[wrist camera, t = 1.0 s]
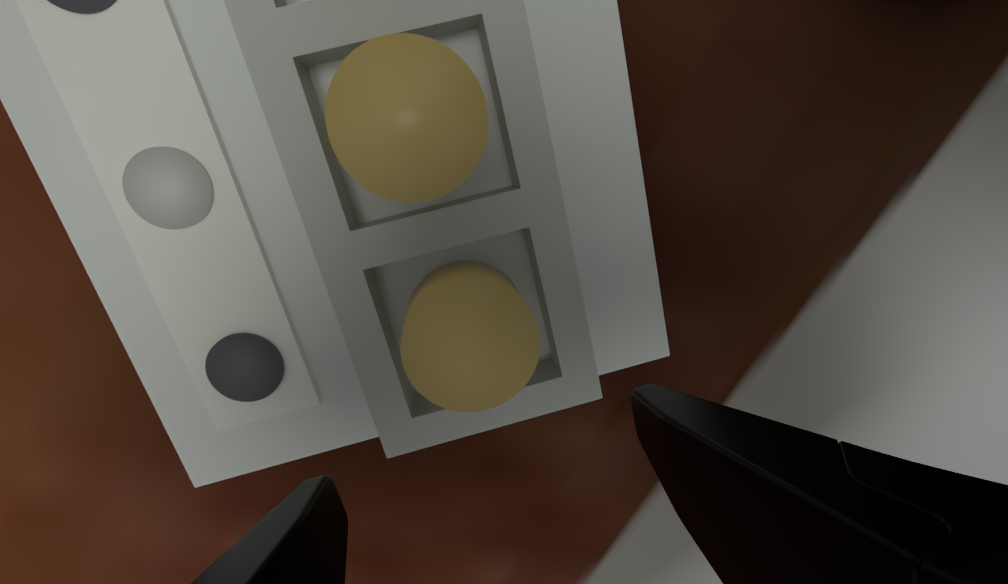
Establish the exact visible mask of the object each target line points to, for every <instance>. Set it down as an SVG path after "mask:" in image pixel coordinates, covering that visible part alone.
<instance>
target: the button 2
mask: <svg viewBox="0 0 1008 584" xmlns="http://www.w3.org/2000/svg"><path fill="white" fill-rule="evenodd" d="M400 353H401V361H402V365H403V368H404V371H405V373H406V376H407V377H408V379H409V381H410V383H411V384H412V385H413V386H414V388H415V389H416V390H417V391H418V392H419V393H420V394H421V395H422V396H423V397H425V398H426V399H427V400H429V401H430V402H432V403H434V404H436V405H438V406H440V407H443V408H445V409H449V410H453V411H459V412H477V411H483V410H488V409H491V408H494V407H497V406H499V405H501V404H503V403H505V402H507V401H508V400H510V399H511V398H513V397H514V396H515V395H516V394H518V393H519V392H520V391H521V390H522V389H523V388H524V387H525V385H526V384H527V383H528V381H529V380H530V378H531V377H532V375H533V373H534V371H535V369H536V366H537V363H538V360H539V355H540V334H539V329H538V326H537V323H536V321H535V318H534V316H533V314H532V313H531V311H530V309H529V307H528V306H527V304H526V302H525V301H524V299H523V297H522V296H521V294H520V292H519V291H518V289H517V287H516V286H515V284H514V283H513V282H512V281H511V279H510V278H509V277H508V276H506V275H505V274H504V273H503V272H501V271H500V270H498V269H497V268H495V267H493V266H491V265H488V264H485V263H482V262H477V261H457V262H452V263H448V264H445V265H443V266H441V267H438V268H436V269H435V270H433V271H432V272H430V273H429V274H428V275H426V276H425V277H424V278H423V279H422V280H421V281H420V282H419V284H418V285H417V286H416V288H415V289H414V291H413V293H412V295H411V297H410V300H409V303H408V307H407V312H406V317H405V322H404V327H403V332H402V337H401V345H400Z"/></svg>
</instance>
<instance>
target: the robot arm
mask: <svg viewBox="0 0 1008 584" xmlns="http://www.w3.org/2000/svg"><path fill="white" fill-rule="evenodd" d="M630 399H631V405H632V410H633V416H634V421H635V427H636V432H637V435H638V438H639V441H640V443H641V445H642V447H643V449H644V451H645V453H646V455H647V457H648V459H649V461H650V463H651V465H652V466H653V468H654V470H655V472H656V474H657V476H658V478H659V480H660V482H661V484H662V486H663V488H664V490H665V492H666V494H667V496H668V497H669V500H670V501H671V503H672V505H673V507H674V509H675V511H676V513H677V514H678V516H679V518H680V519H681V521H682V523H683V524H684V526H685V527H686V529H687V530H688V532H689V533H690V535H691V536H692V538H693V539H694V541H695V542H696V544H697V545H698V547H699V548H700V550H701V551H702V553H703V554H704V556H705V557H706V559H707V560H708V562H709V563H710V565H711V566H712V568H713V569H714V570H715V572H716V574H717V575H718V577H719V578H720V579H721V581H722V583H723V584H1008V485H1005V484H1001V483H996V482H992V481H988V480H984V479H980V478H976V477H971V476H967V475H963V474H959V473H955V472H951V471H947V470H943V469H939V468H935V467H931V466H928V465H923V464H920V463H915V462H911V461H908V460H905V459H901V458H898V457H894V456H891V455H887V454H883V453H880V452H877V451H873V450H870V449H866V448H863V447H860V446H857V445H853V444H850V443H847V442H843V441H841V442H839V444H838V441H837V440H836V439H833V438H829V437H826V436H823V435H820V434H816V433H813V432H810V431H807V430H803V429H800V428H797V427H793V426H790V425H787V424H784V423H780V422H777V421H773V420H770V419H767V418H764V417H760V416H757V415H754V414H750V413H747V412H744V411H741V410H737V409H734V408H731V407H727V406H724V405H721V404H717V403H714V402H711V401H708V400H704V399H701V398H698V397H694V396H691V395H688V394H684V393H681V392H678V391H675V390H671V389H668V388H665V387H661V386H658V385H655V384H649V385H645V386H642V387H638V388H635V389H633V390H632V391H631V393H630ZM347 537H348V519H347V515H346V511H345V509H344V506H343V504H342V501H341V499H340V496H339V494H338V491H337V489H336V486H335V484H334V481H333V480H332V478H331V477H330V476H328V475H322V476H319V477H315V478H311V479H308V480H305V481H304V482H302V483H301V484H300V485H299V486H298V487H297V488H296V489H295V490H294V491H292V492H291V493H290V494H289V495H288V496H287V497H286V498H285V499H284V500H283V501H281V502H280V503H279V504H278V505H277V506H276V507H275V508H274V509H273V510H272V511H270V512H269V513H268V514H267V515H266V516H265V517H264V518H263V519H262V520H261V521H259V522H258V523H257V524H256V525H255V526H254V527H253V528H252V529H251V530H249V531H248V532H247V533H246V534H245V535H244V536H243V537H242V538H241V539H240V540H238V541H237V542H236V543H235V544H234V545H233V546H232V547H231V548H230V549H229V550H227V551H226V552H225V553H224V554H223V555H222V556H221V557H220V558H219V559H218V560H216V561H215V562H214V563H213V564H212V565H211V566H210V567H209V568H208V569H207V570H205V571H204V572H203V573H202V574H201V575H200V576H199V577H198V578H197V579H196V580H194V581H193V582H192V583H191V584H345V571H346V554H347Z"/></svg>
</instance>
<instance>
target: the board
mask: <svg viewBox="0 0 1008 584" xmlns="http://www.w3.org/2000/svg"><path fill="white" fill-rule="evenodd" d="M393 33H410V34H418V35H422V36H425V37H429V38H431V39H434V40H436V41H438V42H440V43H442V44H444V45H445V46H447V47H449V48H450V49H451V50H453V51H454V52H455V53H456V54H458V55H459V56H460V57H461V58H462V59H463V60H464V61H465V62H466V64H467V65H468V66H469V67H470V69H471V70H472V71H473V73H474V75H475V76H476V78H477V80H478V81H479V84H480V86H481V88H482V90H483V93H484V96H485V100H486V104H487V110H488V122H489V126H488V136H487V141H486V146H485V149H484V152H483V154H482V157H481V159H480V161H479V163H478V165H477V166H476V168H475V169H474V171H473V172H472V174H471V175H470V176H469V177H468V178H467V179H466V180H465V181H464V182H463V183H462V184H461V185H460V186H459V187H457V188H456V189H454V190H453V191H451V192H450V193H448V194H446V195H444V196H442V197H440V198H436V199H433V200H430V201H425V202H416V203H407V202H398V201H393V200H389V199H386V198H383V197H381V196H378V195H376V194H374V193H372V192H370V191H369V190H367V189H366V188H364V187H363V186H361V185H360V184H359V183H358V182H357V181H355V180H354V179H353V178H352V177H351V176H350V175H349V173H348V172H347V171H346V170H345V169H344V167H343V166H342V165H341V163H340V162H339V160H338V158H337V156H336V155H335V153H334V151H333V148H332V146H331V143H330V141H329V137H328V133H327V128H326V121H325V105H326V98H327V93H328V89H329V86H330V83H331V81H332V78H333V76H334V74H335V72H336V71H337V69H338V67H339V66H340V64H341V63H342V62H343V61H344V59H345V58H346V57H347V56H348V55H349V54H350V53H351V52H352V51H353V50H355V49H356V48H357V47H359V46H360V45H362V44H363V43H365V42H367V41H369V40H371V39H373V38H376V37H379V36H383V35H387V34H393ZM0 99H1V101H2V103H3V105H4V107H5V109H6V111H7V113H8V115H9V117H10V119H11V121H12V123H13V125H14V127H15V129H16V131H17V133H18V135H19V137H20V139H21V141H22V143H23V145H24V147H25V149H26V151H27V153H28V155H29V157H30V159H31V161H32V163H33V165H34V167H35V169H36V171H37V173H38V175H39V177H40V179H41V181H42V183H43V185H44V187H45V189H46V191H47V193H48V195H49V197H50V199H51V201H52V203H53V205H54V207H55V209H56V211H57V213H58V215H59V217H60V219H61V221H62V223H63V225H64V227H65V229H66V231H67V233H68V235H69V237H70V239H71V241H72V243H73V245H74V247H75V249H76V251H77V253H78V255H79V257H80V259H81V261H82V263H83V265H84V267H85V269H86V271H87V273H88V275H89V277H90V279H91V281H92V283H93V285H94V287H95V289H96V291H97V293H98V295H99V297H100V299H101V301H102V303H103V305H104V307H105V309H106V311H107V313H108V315H109V317H110V319H111V321H112V323H113V325H114V327H115V329H116V331H117V333H118V335H119V337H120V339H121V341H122V343H123V345H124V347H125V349H126V351H127V353H128V355H129V357H130V359H131V361H132V363H133V365H134V367H135V369H136V371H137V373H138V375H139V377H140V379H141V381H142V383H143V385H144V387H145V389H146V391H147V393H148V395H149V397H150V399H151V401H152V403H153V405H154V407H155V409H156V411H157V413H158V415H159V417H160V419H161V421H162V423H163V425H164V427H165V429H166V431H167V433H168V435H169V437H170V439H171V441H172V443H173V445H174V447H175V449H176V451H177V453H178V455H179V457H180V459H181V461H182V463H183V465H184V467H185V469H186V471H187V473H188V475H189V477H190V479H191V481H192V483H193V485H194V487H195V488H196V487H200V486H203V485H207V484H210V483H214V482H218V481H221V480H225V479H228V478H232V477H236V476H239V475H243V474H246V473H250V472H253V471H257V470H261V469H264V468H268V467H271V466H275V465H279V464H282V463H286V462H289V461H293V460H297V459H300V458H304V457H307V456H311V455H315V454H318V453H322V452H325V451H329V450H333V449H336V448H340V447H343V446H347V445H351V444H354V443H358V442H361V441H365V440H369V439H372V438H376V437H379V438H380V440H381V443H382V446H383V449H384V452H385V455H386V457H387V459H388V458H391V457H395V456H398V455H402V454H405V453H409V452H413V451H416V450H420V449H423V448H427V447H430V446H434V445H438V444H441V443H445V442H448V441H452V440H455V439H459V438H462V437H466V436H470V435H473V434H477V433H480V432H484V431H487V430H491V429H494V428H498V427H502V426H505V425H509V424H512V423H516V422H519V421H523V420H526V419H530V418H534V417H537V416H541V415H544V414H548V413H551V412H555V411H559V410H562V409H566V408H569V407H573V406H576V405H580V404H583V403H587V402H591V401H594V400H598V399H601V398H603V397H602V392H601V387H600V382H599V377H598V376H599V375H602V374H606V373H609V372H613V371H617V370H620V369H624V368H627V367H631V366H635V365H638V364H642V363H645V362H649V361H653V360H656V359H660V358H663V357H667V356H670V353H669V346H668V339H667V333H666V326H665V319H664V312H663V306H662V299H661V292H660V286H659V279H658V272H657V266H656V259H655V252H654V246H653V239H652V232H651V226H650V219H649V212H648V206H647V199H646V192H645V185H644V179H643V172H642V165H641V159H640V152H639V145H638V139H637V132H636V125H635V119H634V112H633V105H632V99H631V92H630V85H629V79H628V72H627V65H626V58H625V52H624V45H623V38H622V32H621V25H620V18H619V12H618V5H617V0H0ZM457 261H477V262H482V263H485V264H488V265H491V266H493V267H495V268H497V269H498V270H500V271H501V272H503V273H504V274H505V275H506V276H508V277H509V278H510V279H511V281H512V282H513V283H514V284H515V286H516V287H517V289H518V291H519V292H520V294H521V296H522V297H523V299H524V301H525V302H526V304H527V306H528V307H529V309H530V311H531V313H532V314H533V316H534V318H535V321H536V323H537V326H538V329H539V334H540V355H539V360H538V363H537V366H536V369H535V371H534V373H533V375H532V377H531V378H530V380H529V381H528V383H527V384H526V385H525V387H524V388H523V389H522V390H521V391H520V392H519V393H518V394H516V395H515V396H514V397H513V398H511V399H510V400H508V401H507V402H505V403H503V404H501V405H499V406H497V407H494V408H491V409H488V410H483V411H477V412H459V411H453V410H449V409H445V408H443V407H440V406H438V405H436V404H434V403H432V402H430V401H429V400H427V399H426V398H425V397H423V396H422V395H421V394H420V393H419V392H418V391H417V390H416V389H415V388H414V386H413V385H412V384H411V383H410V381H409V379H408V377H407V376H406V373H405V371H404V368H403V365H402V361H401V353H400V345H401V337H402V332H403V327H404V322H405V317H406V312H407V307H408V303H409V300H410V297H411V295H412V293H413V291H414V289H415V288H416V286H417V285H418V284H419V282H420V281H421V280H422V279H423V278H424V277H425V276H426V275H428V274H429V273H430V272H432V271H433V270H435V269H436V268H438V267H441V266H443V265H445V264H448V263H452V262H457Z"/></svg>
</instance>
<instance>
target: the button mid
mask: <svg viewBox="0 0 1008 584" xmlns="http://www.w3.org/2000/svg"><path fill="white" fill-rule="evenodd" d="M325 121H326V128H327V133H328V137H329V141H330V143H331V146H332V148H333V151H334V153H335V155H336V156H337V158H338V160H339V162H340V163H341V165H342V166H343V167H344V169H345V170H346V171H347V172H348V173H349V175H350V176H351V177H352V178H353V179H354V180H355V181H357V182H358V183H359V184H360V185H361V186H363V187H364V188H366V189H367V190H369V191H370V192H372V193H374V194H376V195H378V196H381V197H383V198H386V199H389V200H393V201H398V202H407V203H416V202H425V201H430V200H433V199H436V198H440V197H442V196H444V195H446V194H448V193H450V192H451V191H453V190H454V189H456V188H457V187H459V186H460V185H461V184H462V183H463V182H464V181H465V180H466V179H467V178H468V177H469V176H470V175H471V174H472V172H473V171H474V169H475V168H476V166H477V165H478V163H479V161H480V159H481V157H482V154H483V152H484V149H485V146H486V141H487V136H488V126H489V122H488V110H487V104H486V100H485V96H484V93H483V90H482V88H481V86H480V84H479V81H478V80H477V78H476V76H475V75H474V73H473V71H472V70H471V69H470V67H469V66H468V65H467V64H466V62H465V61H464V60H463V59H462V58H461V57H460V56H459V55H458V54H456V53H455V52H454V51H453V50H451V49H450V48H449V47H447V46H445V45H444V44H442V43H440V42H438V41H436V40H434V39H431V38H429V37H425V36H422V35H418V34H410V33H393V34H387V35H383V36H379V37H376V38H373V39H371V40H369V41H367V42H365V43H363V44H362V45H360V46H359V47H357V48H356V49H355V50H353V51H352V52H351V53H350V54H349V55H348V56H347V57H346V58H345V59H344V61H343V62H342V63H341V64H340V66H339V67H338V69H337V71H336V72H335V74H334V76H333V78H332V81H331V83H330V86H329V89H328V93H327V98H326V105H325Z"/></svg>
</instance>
